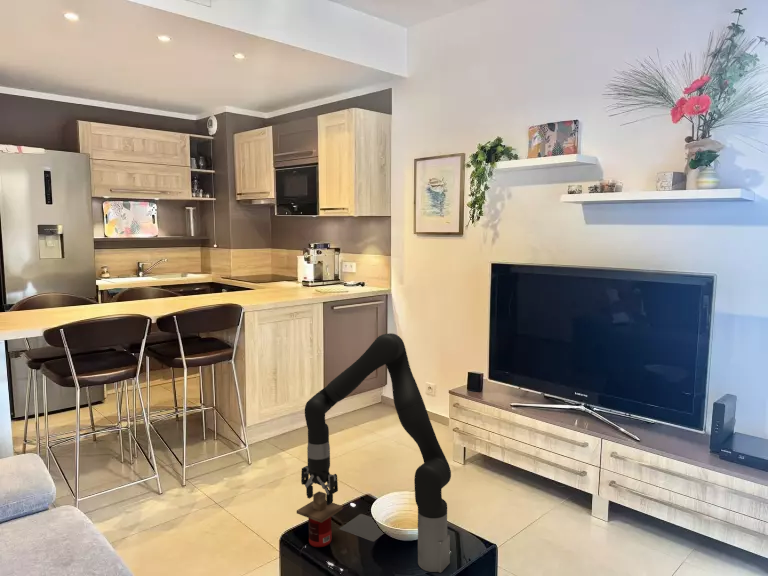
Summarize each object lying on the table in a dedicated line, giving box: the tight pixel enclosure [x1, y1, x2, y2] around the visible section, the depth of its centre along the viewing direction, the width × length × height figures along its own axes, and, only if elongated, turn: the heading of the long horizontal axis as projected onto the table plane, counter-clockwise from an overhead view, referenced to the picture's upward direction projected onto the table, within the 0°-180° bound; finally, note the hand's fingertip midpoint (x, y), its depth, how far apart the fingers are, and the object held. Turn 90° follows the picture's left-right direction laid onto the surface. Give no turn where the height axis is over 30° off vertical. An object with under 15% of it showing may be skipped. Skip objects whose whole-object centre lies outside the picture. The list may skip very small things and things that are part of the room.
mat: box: [339, 513, 385, 543], centre depth 191 cm, size 15×13×1 cm
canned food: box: [307, 516, 333, 548], centre depth 182 cm, size 8×8×11 cm
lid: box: [296, 490, 344, 523], centre depth 181 cm, size 11×11×6 cm
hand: (319, 500), depth 181 cm, fingers open, 8 cm apart
